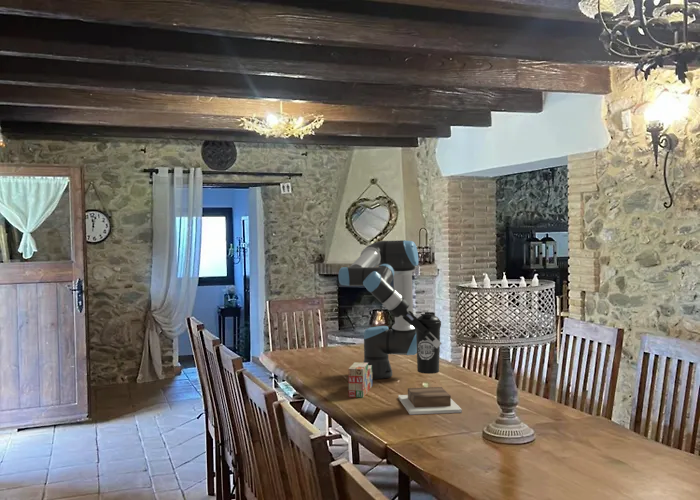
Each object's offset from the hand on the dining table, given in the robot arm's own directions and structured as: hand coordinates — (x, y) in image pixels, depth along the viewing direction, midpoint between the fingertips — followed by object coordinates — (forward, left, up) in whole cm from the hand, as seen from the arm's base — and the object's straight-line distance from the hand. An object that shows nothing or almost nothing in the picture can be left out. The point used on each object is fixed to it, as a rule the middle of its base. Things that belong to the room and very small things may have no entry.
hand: (436, 343), depth 250 cm
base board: (0, -3, -24) cm, 24 cm away
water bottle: (0, -3, -11) cm, 12 cm away
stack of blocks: (-26, -27, -25) cm, 45 cm away
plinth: (0, -3, -23) cm, 23 cm away
